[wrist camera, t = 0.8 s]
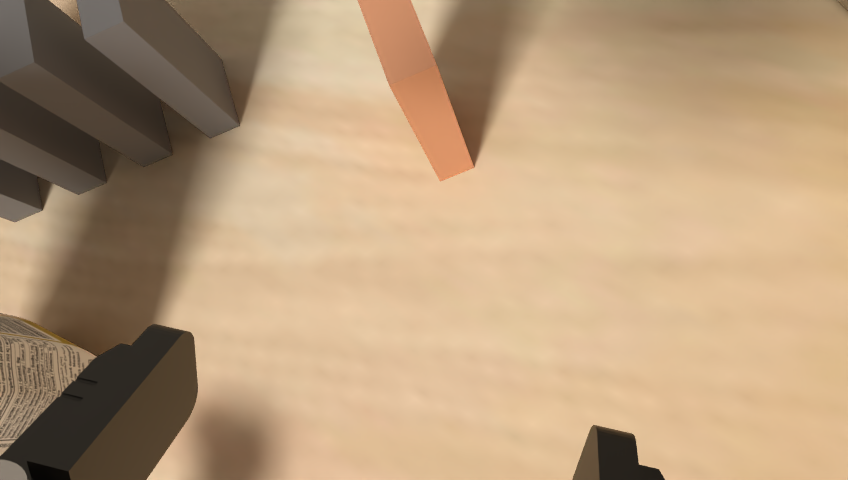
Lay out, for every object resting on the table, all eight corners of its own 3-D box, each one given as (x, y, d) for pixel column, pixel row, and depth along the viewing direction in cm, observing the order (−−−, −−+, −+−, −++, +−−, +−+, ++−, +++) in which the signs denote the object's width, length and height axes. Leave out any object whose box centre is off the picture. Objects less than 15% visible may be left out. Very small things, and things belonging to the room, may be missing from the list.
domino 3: (156, 87, 41) (19, -23, 31) (172, 154, 40) (34, 62, 29) (129, 99, 42) (-17, -6, 31) (143, 166, 40) (-4, 79, 30)
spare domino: (443, 92, 37) (396, -34, 27) (474, 167, 36) (436, 65, 25) (411, 105, 37) (352, -14, 27) (440, 181, 36) (389, 85, 25)
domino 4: (93, 115, 42) (-62, 16, 31) (106, 182, 40) (-53, 101, 30) (66, 127, 42) (-98, 32, 32) (78, 194, 40) (-90, 118, 30)
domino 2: (221, 58, 41) (104, -63, 31) (239, 125, 39) (123, 21, 29) (193, 71, 41) (67, -46, 31) (210, 138, 40) (84, 39, 29)
